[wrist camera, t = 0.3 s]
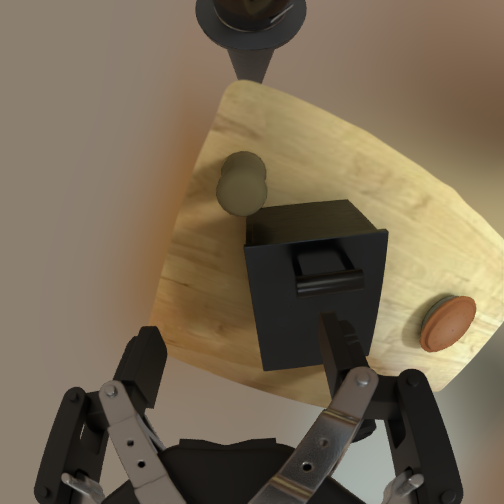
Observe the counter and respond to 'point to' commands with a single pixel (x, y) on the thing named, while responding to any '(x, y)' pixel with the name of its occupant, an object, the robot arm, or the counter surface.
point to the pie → (447, 322)
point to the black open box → (305, 221)
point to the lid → (313, 291)
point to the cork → (242, 184)
